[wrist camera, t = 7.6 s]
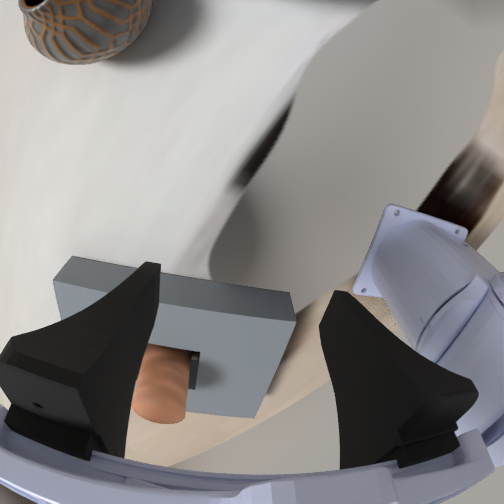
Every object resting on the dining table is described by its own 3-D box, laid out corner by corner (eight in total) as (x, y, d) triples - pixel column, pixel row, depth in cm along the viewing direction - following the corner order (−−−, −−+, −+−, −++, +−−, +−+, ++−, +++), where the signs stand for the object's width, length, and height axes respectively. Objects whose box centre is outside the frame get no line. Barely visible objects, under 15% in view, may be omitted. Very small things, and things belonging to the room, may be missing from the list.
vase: (106, 87, 15) (24, 92, 8) (53, 33, 13) (-31, 22, 5) (185, 13, 14) (147, -41, 6) (124, -37, 11) (66, -90, 3)
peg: (194, 323, 25) (184, 401, 18) (192, 354, 27) (185, 426, 20) (148, 318, 25) (127, 392, 18) (151, 349, 26) (135, 419, 19)
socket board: (289, 292, 24) (296, 321, 21) (252, 391, 30) (254, 418, 27) (71, 256, 21) (52, 280, 18) (92, 364, 28) (82, 388, 25)
